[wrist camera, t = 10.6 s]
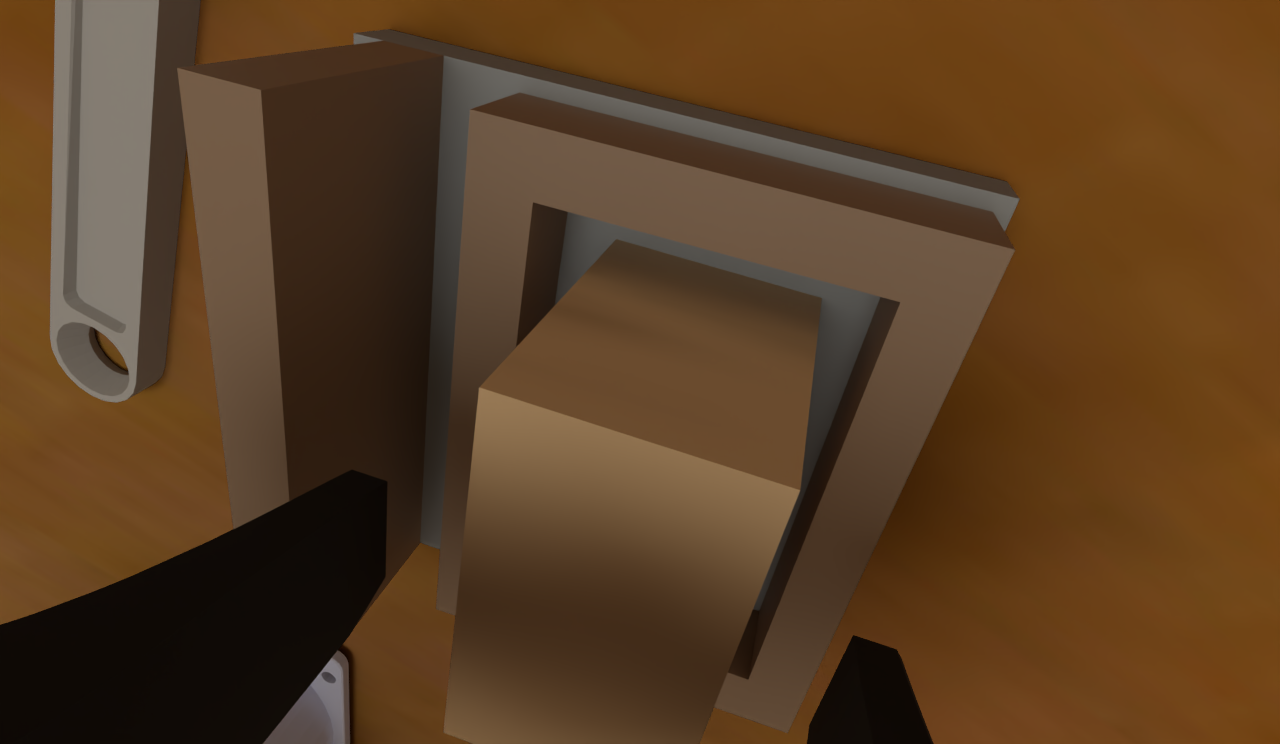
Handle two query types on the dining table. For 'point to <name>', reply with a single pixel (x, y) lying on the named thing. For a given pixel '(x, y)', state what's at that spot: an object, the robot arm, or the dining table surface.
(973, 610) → the dining table surface
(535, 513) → the light wooden block
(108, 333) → the adjustable wrench
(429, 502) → the stand
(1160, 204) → the dining table surface
